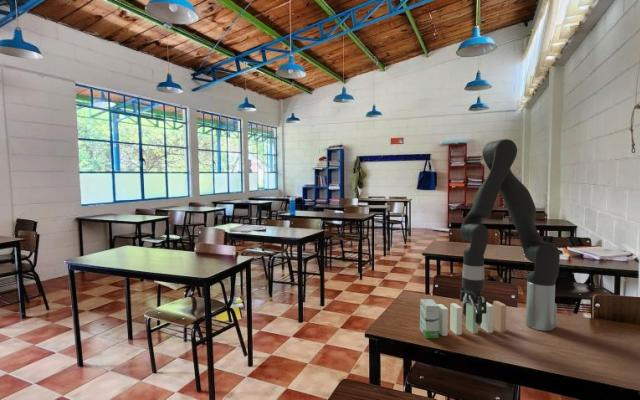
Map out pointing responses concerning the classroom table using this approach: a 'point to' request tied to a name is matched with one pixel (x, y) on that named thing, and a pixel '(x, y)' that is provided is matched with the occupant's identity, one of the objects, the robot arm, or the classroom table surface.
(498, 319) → the domino end
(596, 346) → the classroom table surface
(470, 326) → the domino
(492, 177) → the robot arm
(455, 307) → the domino
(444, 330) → the domino
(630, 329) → the classroom table surface
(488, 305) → the domino
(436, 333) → the ink box
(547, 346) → the classroom table surface
